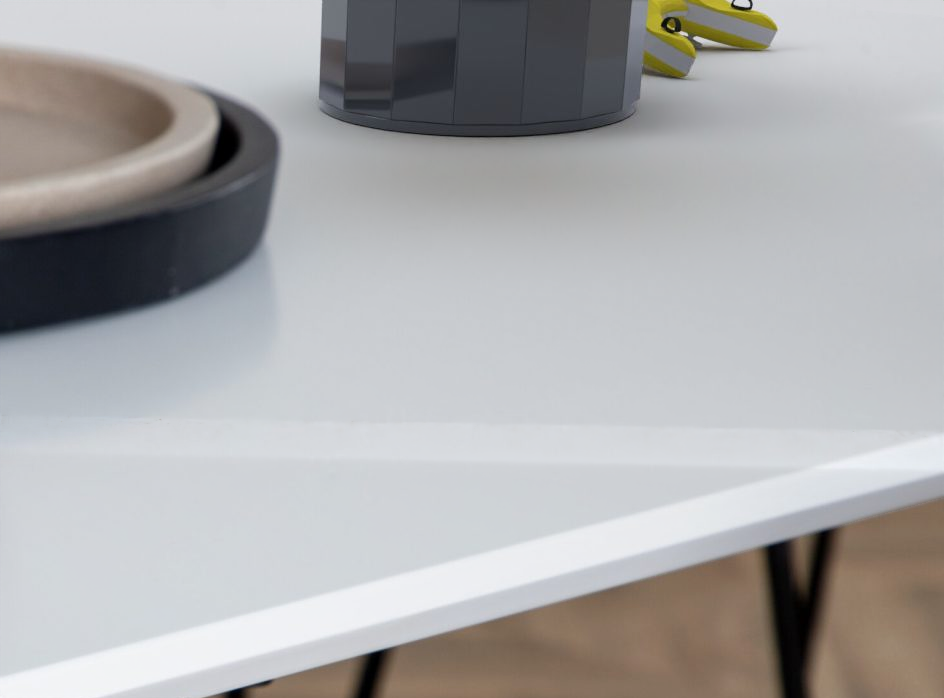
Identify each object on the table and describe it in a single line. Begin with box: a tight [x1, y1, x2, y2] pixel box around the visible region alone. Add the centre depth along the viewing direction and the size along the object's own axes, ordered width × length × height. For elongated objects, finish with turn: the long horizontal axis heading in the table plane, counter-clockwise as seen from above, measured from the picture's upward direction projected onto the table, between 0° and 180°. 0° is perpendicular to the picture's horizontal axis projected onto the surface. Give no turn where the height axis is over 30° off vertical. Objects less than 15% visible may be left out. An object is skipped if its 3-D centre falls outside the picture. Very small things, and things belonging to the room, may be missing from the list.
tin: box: [318, 0, 649, 137], centre depth 105 cm, size 15×15×8 cm
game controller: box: [643, 0, 778, 78], centre depth 116 cm, size 10×6×4 cm, turn 139°
